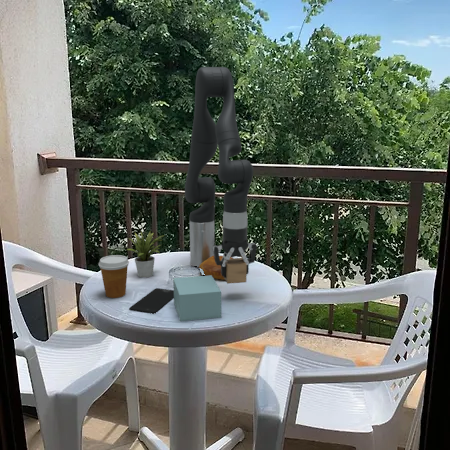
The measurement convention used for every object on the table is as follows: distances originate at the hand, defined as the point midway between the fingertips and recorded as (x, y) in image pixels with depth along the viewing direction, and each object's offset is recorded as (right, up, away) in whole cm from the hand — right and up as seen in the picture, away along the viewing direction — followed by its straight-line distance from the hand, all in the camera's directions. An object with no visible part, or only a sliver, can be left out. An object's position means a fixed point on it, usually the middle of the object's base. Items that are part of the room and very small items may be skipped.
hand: (234, 275), depth 161 cm
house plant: (-31, -2, +20) cm, 37 cm away
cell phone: (-25, -8, -1) cm, 26 cm away
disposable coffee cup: (-38, -7, +4) cm, 39 cm away
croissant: (-4, -2, +22) cm, 23 cm away
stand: (-11, -9, -8) cm, 17 cm away
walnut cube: (0, -1, 0) cm, 1 cm away
